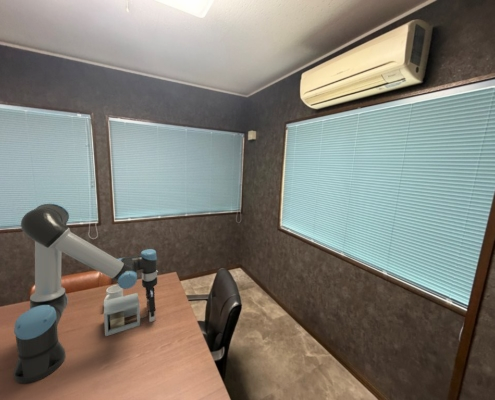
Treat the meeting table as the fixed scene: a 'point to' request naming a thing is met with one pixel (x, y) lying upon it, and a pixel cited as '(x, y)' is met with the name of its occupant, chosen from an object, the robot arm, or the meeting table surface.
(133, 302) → the box
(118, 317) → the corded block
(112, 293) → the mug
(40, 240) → the robot arm
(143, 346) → the meeting table surface
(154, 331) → the meeting table surface
